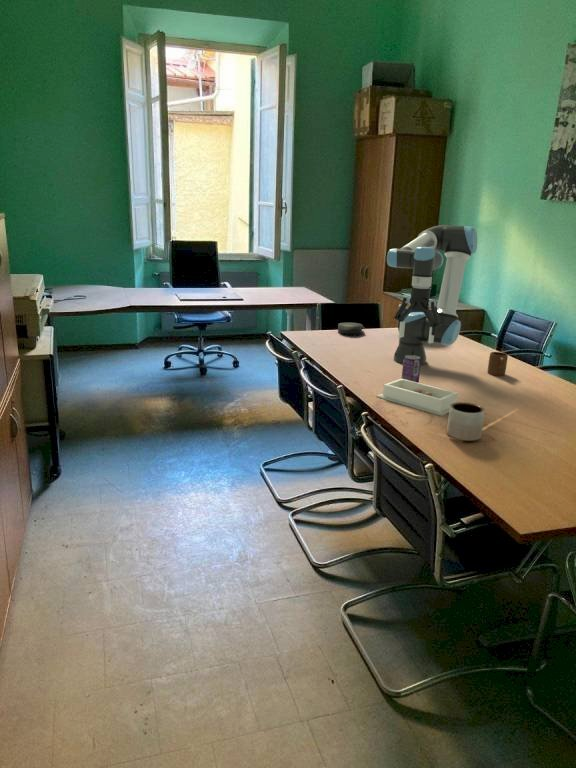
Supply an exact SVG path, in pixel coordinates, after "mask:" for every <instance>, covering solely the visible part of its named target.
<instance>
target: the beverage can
mask: <svg viewBox="0 0 576 768" xmlns="http://www.w3.org/2000/svg"><path fill="white" fill-rule="evenodd" d="M421 366H422V364H421V361H420V357H419V356H415V355H406V356H405V358H404V360H403V364H402V371H401V379H406V380H409V381H413V382H417V383H420V375H421Z"/></svg>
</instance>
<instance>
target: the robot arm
mask: <svg viewBox="0 0 576 768" xmlns="http://www.w3.org/2000/svg"><path fill="white" fill-rule="evenodd" d="M477 233H478V232H477V230H476V228H475V227H474V226H467V225H450V224H449V225H445V224H439V225H435V226H432V227H429V228H427V229H425V230H423V231H421V232H420V233H419V234H418V235H417V237H416V238H414V239H413V240H412V241H410V242H409V243H407V244H405V245H404V246H402V247H401V248H391V249H389V250H388V252H387V255H386V263H387V266H388V267H392V268H394V269H395V268H399V269H411V270H412V269H413V270H412V278H411V286H412V287H411V288H410V298H409V296H406V297H403V298H402V302H401V304H402V305H401V306H400V308H399V310H398V309H397V312H396V313H395V316H394V318H393V319H395V320H397V330H398V329H399V331H398V338H399V339H398V345H397V347H396V350H395V352H394V354H393V362H396V363H397V364H402V365H403V360H404V358H405V356H406V355H415V356H419V357H420V361H421V365H425V364H426V363H427V355H426V349H425V342H426V343H428V344H438V345H442V346H443V345H444V346H445V345H447V346H451V345H453V344H454V343H456V341H457V339H458V337H459V334H460V332H461V326H462V323H461V321H460V320H459V316H458V314H457V310H458V309H457V307H458V304H459V303H458V302H459V298H460V293H461V289H462V283H463V279H464V275H465V274H464V273H465V269H466V264H467V261H468V260H470V258H471V256H472V255H473V254H476V251H477V248H478V234H477ZM441 252H444V255H443V254H442V253H441ZM444 256H445V257H446V262H445V261H444ZM444 262H445V265H444V271H443V276H442V282H441V287H440V291H439V296H438V301H436V300H435V301H434V300H433V301H431V300H430V296H431V292H432V291H431V287H432V282H433V281H432V280H433V271H436V270H438V269H440V268H441V267H442V266H443V264H444ZM408 303H410V304H411V305H410V307H409V308H408V309H407V310H406V311H405V312H404V310H405V308H406V306H407V304H408ZM429 305H430V307H431V310H432V314H431V312H430V309H429V308H428V306H429ZM413 310H415V311H416V310H418V311H423V312H412V311H413ZM403 312H404V313H403ZM411 312H412V313H411ZM402 313H403V314H402ZM401 315H402V316H401Z"/></svg>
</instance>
